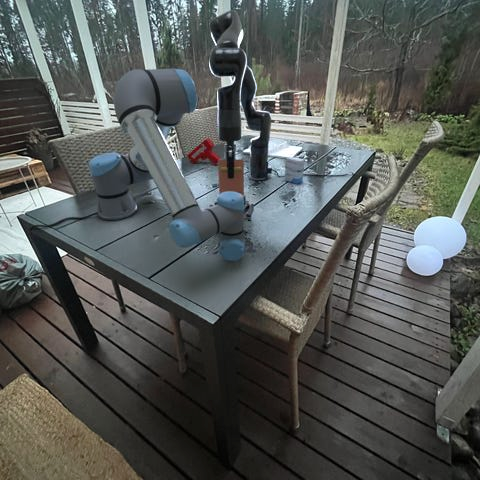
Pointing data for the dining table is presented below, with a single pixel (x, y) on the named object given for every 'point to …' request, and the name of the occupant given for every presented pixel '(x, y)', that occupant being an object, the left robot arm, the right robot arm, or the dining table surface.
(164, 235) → the dining table surface
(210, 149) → the toy gun
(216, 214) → the left robot arm
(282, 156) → the relief map
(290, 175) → the ink box
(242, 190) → the block with yellow handle
